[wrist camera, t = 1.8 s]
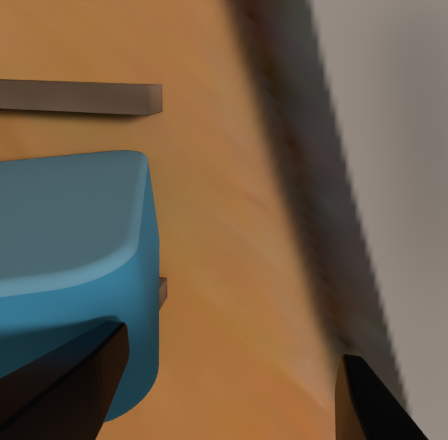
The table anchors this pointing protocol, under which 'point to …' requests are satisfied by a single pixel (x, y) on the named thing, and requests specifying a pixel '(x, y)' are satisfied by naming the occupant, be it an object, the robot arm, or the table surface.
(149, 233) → the blue rounded slab
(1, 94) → the lane rails
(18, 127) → the table surface
